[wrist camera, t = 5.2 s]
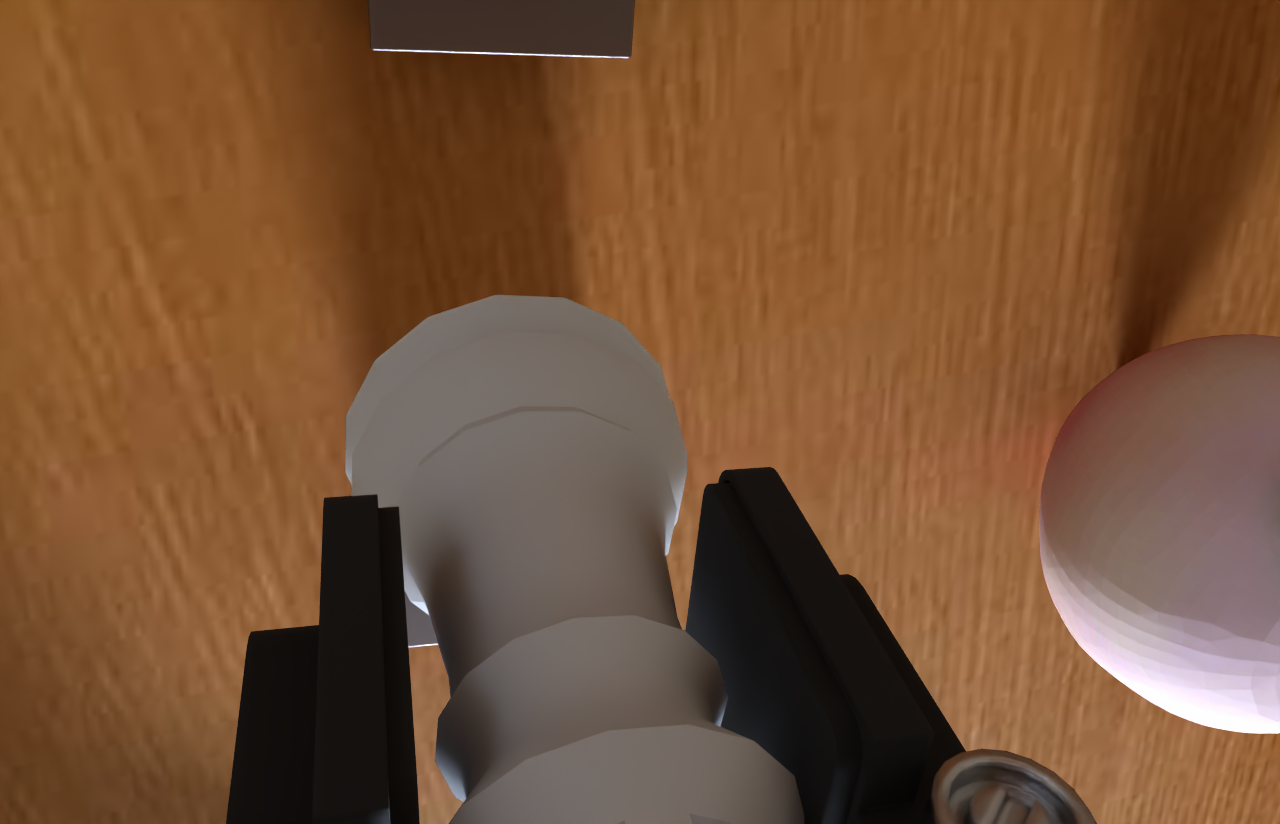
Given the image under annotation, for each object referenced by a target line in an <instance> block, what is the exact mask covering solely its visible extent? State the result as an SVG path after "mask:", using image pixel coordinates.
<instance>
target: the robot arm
mask: <svg viewBox="0 0 1280 824" xmlns="http://www.w3.org/2000/svg"><path fill="white" fill-rule="evenodd" d="M686 632H687V633H688V634H689V635H690V636H691V637H692V638H693V639H695V640H696V641H697V642H698V643H699V644H700V645H701V646H702V647H703V648H704V649H705V650H707V651H708V652H709V653H710V654H711V655H712V656H713V657H714V658H715V659H716V660H717V662H718V665H719V669H720V672H721V676H722V679H723V683H724V686H725V690H726V693H727V697H728V699H727V703H726V707H725V711H724V715H723V719H722V723H721V726H720V727H722V728H725V729H727V730H729V731H732V732H734V733H736V734H739V735H741V736H743V737H746V738H748V739H751V740H753V741H755V742H756V743H757V744H758V745H759V746H761V747H762V748H763V749H764V750H765V751H766V752H768V753H769V754H770V755H771V756H772V757H773V758H774V759H776V760H777V761H778V762H779V763H780V764H781V765H783V766H784V767H785V768H786V769H787V770H788V771H789V772H791V773H792V774H793V775H794V776H795V779H796V783H797V788H798V792H799V796H800V800H801V804H802V808H803V812H804V824H1097V823H1096V821H1095V819H1094V818H1093V816H1092V814H1091V812H1090V810H1089V809H1088V807H1087V806H1086V805H1085V803H1084V802H1083V801H1082V799H1081V798H1080V797H1079V795H1078V794H1077V793H1076V791H1075V790H1074V789H1073V788H1072V787H1071V786H1070V785H1069V784H1067V783H1066V782H1065V781H1064V780H1063V779H1062V778H1060V777H1059V776H1058V775H1057V774H1056V773H1055V772H1053V771H1051V770H1050V769H1048V768H1046V767H1044V766H1042V765H1041V764H1039V763H1037V762H1035V761H1033V760H1032V759H1029V758H1026V757H1023V756H1020V755H1017V754H1014V753H1011V752H1008V751H1001V750H990V749H978V750H972V751H967V752H966V751H965V749H964V747H963V746H962V744H961V743H960V741H959V739H958V738H957V736H956V735H955V733H954V731H953V730H952V728H951V727H950V725H949V723H948V722H947V720H946V719H945V717H944V715H943V714H942V712H941V711H940V709H939V707H938V706H937V704H936V703H935V701H934V699H933V698H932V696H931V695H930V693H929V691H928V690H927V688H926V687H925V685H924V683H923V682H922V680H921V679H920V677H919V675H918V674H917V672H916V671H915V669H914V667H913V666H912V664H911V663H910V661H909V659H908V658H907V656H906V655H905V653H904V651H903V650H902V648H901V647H900V645H899V643H898V642H897V640H896V639H895V637H894V635H893V634H892V632H891V631H890V629H889V627H888V626H887V624H886V623H885V621H884V619H883V618H882V616H881V615H880V613H879V611H878V610H877V608H876V607H875V605H874V603H873V602H872V600H871V599H870V597H869V595H868V594H867V592H866V591H865V589H864V587H863V586H862V585H861V584H860V583H859V581H858V580H857V579H856V578H855V577H853V576H851V575H849V574H845V575H839V573H838V572H837V570H836V568H835V567H834V565H833V564H832V562H831V560H830V559H829V557H828V555H827V554H826V552H825V550H824V549H823V547H822V545H821V544H820V542H819V540H818V539H817V537H816V535H815V534H814V532H813V530H812V529H811V527H810V526H809V524H808V522H807V521H806V519H805V517H804V516H803V514H802V512H801V511H800V509H799V507H798V506H797V504H796V502H795V501H794V499H793V497H792V496H791V494H790V492H789V491H788V489H787V488H786V486H785V484H784V483H783V481H782V479H781V478H780V476H779V474H778V473H777V472H776V470H775V469H774V468H771V467H764V468H749V469H735V470H725V471H723V472H722V474H721V476H720V478H719V482H718V483H716V484H708V485H707V486H706V487H705V489H704V494H703V500H702V508H701V516H700V523H699V531H698V539H697V547H696V554H695V562H694V570H693V577H692V585H691V593H690V600H689V608H688V616H687V624H686ZM226 824H419V805H418V787H417V771H416V756H415V741H414V726H413V711H412V695H411V680H410V665H409V650H408V635H407V620H406V605H405V589H404V574H403V559H402V544H401V529H400V514H399V506H398V507H384V508H378V495H377V494H373V495H359V496H344V497H330V498H324V506H323V534H322V561H321V589H320V616H319V625H315V626H305V627H295V628H284V629H274V630H264V631H253V632H251V633H250V635H249V638H248V644H247V651H246V659H245V667H244V676H243V684H242V693H241V701H240V710H239V718H238V727H237V735H236V744H235V752H234V761H233V769H232V778H231V786H230V795H229V803H228V812H227V820H226Z"/></svg>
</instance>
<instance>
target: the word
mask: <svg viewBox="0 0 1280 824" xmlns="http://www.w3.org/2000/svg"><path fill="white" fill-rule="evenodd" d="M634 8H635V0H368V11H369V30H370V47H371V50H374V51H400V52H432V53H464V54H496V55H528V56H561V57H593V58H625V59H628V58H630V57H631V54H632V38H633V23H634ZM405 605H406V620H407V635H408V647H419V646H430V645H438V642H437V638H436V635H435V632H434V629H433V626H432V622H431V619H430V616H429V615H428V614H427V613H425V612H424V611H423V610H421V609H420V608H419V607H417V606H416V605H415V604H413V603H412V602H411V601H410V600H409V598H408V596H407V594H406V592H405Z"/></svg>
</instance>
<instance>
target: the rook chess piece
mask: <svg viewBox="0 0 1280 824" xmlns="http://www.w3.org/2000/svg"><path fill="white" fill-rule="evenodd" d="M346 475H347V477H348V479H349V481H350V483H351V485H352V496H359V495H373V494H377V495H378V508H384V507H398V506H399V514H400V529H401V544H402V559H403V574H404V589H405V592H406V594H407V596H408V598H409V600H410V601H411V602H412V603H413V604H415V605H416V606H417V607H419V608H420V609H421V610H423V611H424V612H425V613H427V614H428V615H429V616H430V619H431V622H432V626H433V629H434V632H435V635H436V638H437V642H438V645H439V648H440V651H441V655H442V658H443V661H444V664H445V667H446V671H447V674H448V677H449V686H450V695H451V699H450V700H449V702H448V703H447V705H446V706H445V708H444V710H443V711H442V713H441V714H440V716H439V718H438V728H437V741H436V754H435V762H436V764H437V765H438V767H439V769H440V771H441V773H442V774H443V776H444V778H445V780H446V782H447V784H448V785H449V787H450V789H451V791H452V793H453V794H454V796H455V797H456V798H458V799H460V800H461V801H463V802H464V803H463V804H462V805H461V807H460V808H459V809H458V811H457V812H456V814H455V815H454V817H453V818H452V820H451V821H450V823H449V824H804V812H803V808H802V804H801V800H800V796H799V792H798V788H797V783H796V779H795V776H794V775H793V774H792V773H791V772H789V771H788V770H787V769H786V768H785V767H784V766H783V765H781V764H780V763H779V762H778V761H777V760H776V759H774V758H773V757H772V756H771V755H770V754H769V753H768V752H766V751H765V750H764V749H763V748H762V747H761V746H759V745H758V744H757V743H756V742H755V741H753V740H751V739H748V738H746V737H743V736H741V735H739V734H736V733H734V732H732V731H729V730H727V729H725V728H722V727H720V726H721V723H722V719H723V715H724V711H725V707H726V703H727V699H728V697H727V693H726V690H725V686H724V683H723V679H722V676H721V672H720V669H719V665H718V662H717V660H716V659H715V658H714V657H713V656H712V655H711V654H710V653H709V652H708V651H707V650H705V649H704V648H703V647H702V646H701V645H700V644H699V643H698V642H697V641H696V640H695V639H693V638H692V637H691V636H690V635H689V634H688V633H687V632H686V631H685V630H682V628H681V626H680V623H679V620H678V618H677V613H676V607H675V602H674V597H673V592H672V586H671V581H670V576H669V570H668V565H667V560H666V555H667V554H668V552H669V547H670V542H671V537H672V532H673V527H674V526H675V524H676V523H677V519H678V514H679V509H680V504H681V499H682V494H683V490H684V485H685V480H686V475H687V451H686V448H685V444H684V440H683V436H682V432H681V429H680V425H679V421H678V417H677V414H676V410H675V406H674V402H673V401H672V400H671V399H670V398H669V394H668V390H667V387H666V383H665V379H664V375H663V372H662V368H661V366H660V365H659V364H658V363H657V361H656V360H655V359H654V358H653V357H652V356H651V355H650V353H649V352H648V351H647V350H646V349H645V348H644V347H643V346H642V344H641V343H640V342H639V341H638V340H637V339H636V338H635V336H634V335H633V334H632V333H631V332H630V331H629V330H628V329H627V327H626V326H625V325H624V324H623V323H621V322H618V321H616V320H614V319H612V318H609V317H607V316H605V315H603V314H601V313H598V312H596V311H594V310H592V309H589V308H587V307H585V306H583V305H580V304H578V303H576V302H574V301H572V300H569V299H567V298H563V297H539V296H514V295H493V296H490V297H487V298H484V299H481V300H478V301H475V302H472V303H469V304H466V305H463V306H460V307H457V308H454V309H451V310H448V311H445V312H441V313H438V314H435V315H432V316H429V317H427V318H426V319H425V320H424V321H422V322H421V323H420V324H419V325H417V326H416V327H415V328H414V329H413V330H411V331H410V332H409V333H408V334H406V335H405V336H404V337H403V338H402V339H400V340H399V341H398V342H397V343H395V344H394V345H393V346H392V347H390V348H389V349H388V350H387V351H386V352H384V353H383V354H382V355H381V356H379V357H378V358H377V359H376V360H375V361H374V363H373V365H372V367H371V369H370V371H369V373H368V375H367V377H366V379H365V381H364V382H363V384H362V386H361V388H360V390H359V392H358V394H357V396H356V398H355V400H354V402H353V404H352V406H351V408H350V410H349V411H348V413H347V415H346Z"/></svg>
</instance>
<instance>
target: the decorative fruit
mask: <svg viewBox="0 0 1280 824" xmlns="http://www.w3.org/2000/svg"><path fill="white" fill-rule="evenodd" d="M1039 535H1040V554H1041V561H1042V567H1043V572H1044V577H1045V580H1046V583H1047V586H1048V589H1049V592H1050V595H1051V598H1052V600H1053V602H1054V604H1055V606H1056V608H1057V610H1058V612H1059V614H1060V616H1061V618H1062V620H1063V621H1064V623H1065V625H1066V626H1067V628H1068V629H1069V631H1070V633H1071V634H1072V635H1073V637H1074V638H1075V640H1076V641H1077V642H1078V644H1079V645H1080V646H1081V647H1082V648H1083V649H1084V650H1085V651H1086V652H1087V653H1088V654H1089V655H1090V656H1091V657H1092V658H1093V659H1094V660H1095V661H1096V662H1097V663H1098V664H1099V665H1101V666H1102V667H1103V668H1104V669H1105V670H1107V671H1108V672H1109V673H1110V674H1112V675H1113V676H1114V677H1115V678H1117V679H1118V680H1119V681H1121V682H1122V683H1124V684H1125V685H1126V686H1128V687H1129V688H1131V689H1132V690H1133V691H1135V692H1136V693H1138V694H1139V695H1141V696H1142V697H1144V698H1145V699H1147V700H1148V701H1150V702H1152V703H1153V704H1155V705H1157V706H1159V707H1161V708H1163V709H1165V710H1167V711H1168V712H1170V713H1172V714H1175V715H1177V716H1180V717H1182V718H1184V719H1187V720H1190V721H1193V722H1195V723H1199V724H1202V725H1205V726H1209V727H1214V728H1219V729H1224V730H1229V731H1236V732H1245V733H1280V337H1275V336H1265V335H1221V336H1211V337H1204V338H1198V339H1192V340H1188V341H1184V342H1180V343H1176V344H1172V345H1168V346H1165V347H1163V348H1160V349H1157V350H1154V351H1151V352H1149V353H1147V354H1144V355H1142V356H1140V357H1138V358H1136V359H1134V360H1132V361H1130V362H1129V363H1127V364H1125V365H1124V366H1122V367H1121V368H1119V369H1117V370H1116V371H1115V372H1113V373H1112V374H1110V375H1109V376H1108V377H1107V378H1105V379H1104V380H1103V381H1102V382H1100V383H1099V384H1098V385H1097V386H1095V387H1094V388H1093V389H1092V390H1091V391H1090V392H1089V393H1088V394H1087V395H1086V396H1085V397H1084V398H1083V399H1082V400H1081V401H1080V402H1079V403H1078V405H1077V406H1076V407H1075V408H1074V409H1073V411H1072V412H1071V413H1070V415H1069V416H1068V418H1067V419H1066V421H1065V423H1064V425H1063V426H1062V428H1061V430H1060V432H1059V434H1058V436H1057V438H1056V441H1055V444H1054V446H1053V449H1052V452H1051V454H1050V457H1049V460H1048V463H1047V467H1046V471H1045V475H1044V479H1043V483H1042V490H1041V499H1040V511H1039Z"/></svg>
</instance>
